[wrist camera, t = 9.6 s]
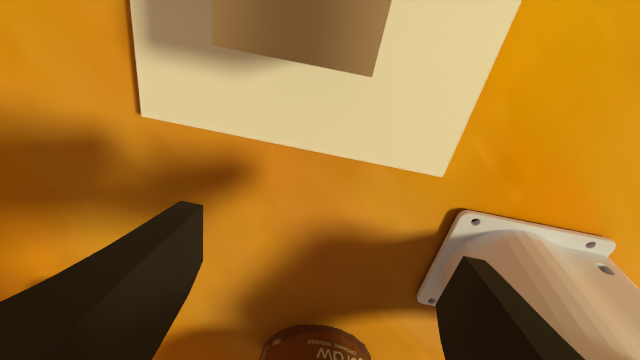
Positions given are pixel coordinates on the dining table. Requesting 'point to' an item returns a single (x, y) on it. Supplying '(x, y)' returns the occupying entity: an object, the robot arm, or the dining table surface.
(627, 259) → the dining table surface
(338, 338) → the food container
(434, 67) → the cream mat
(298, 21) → the walnut block
